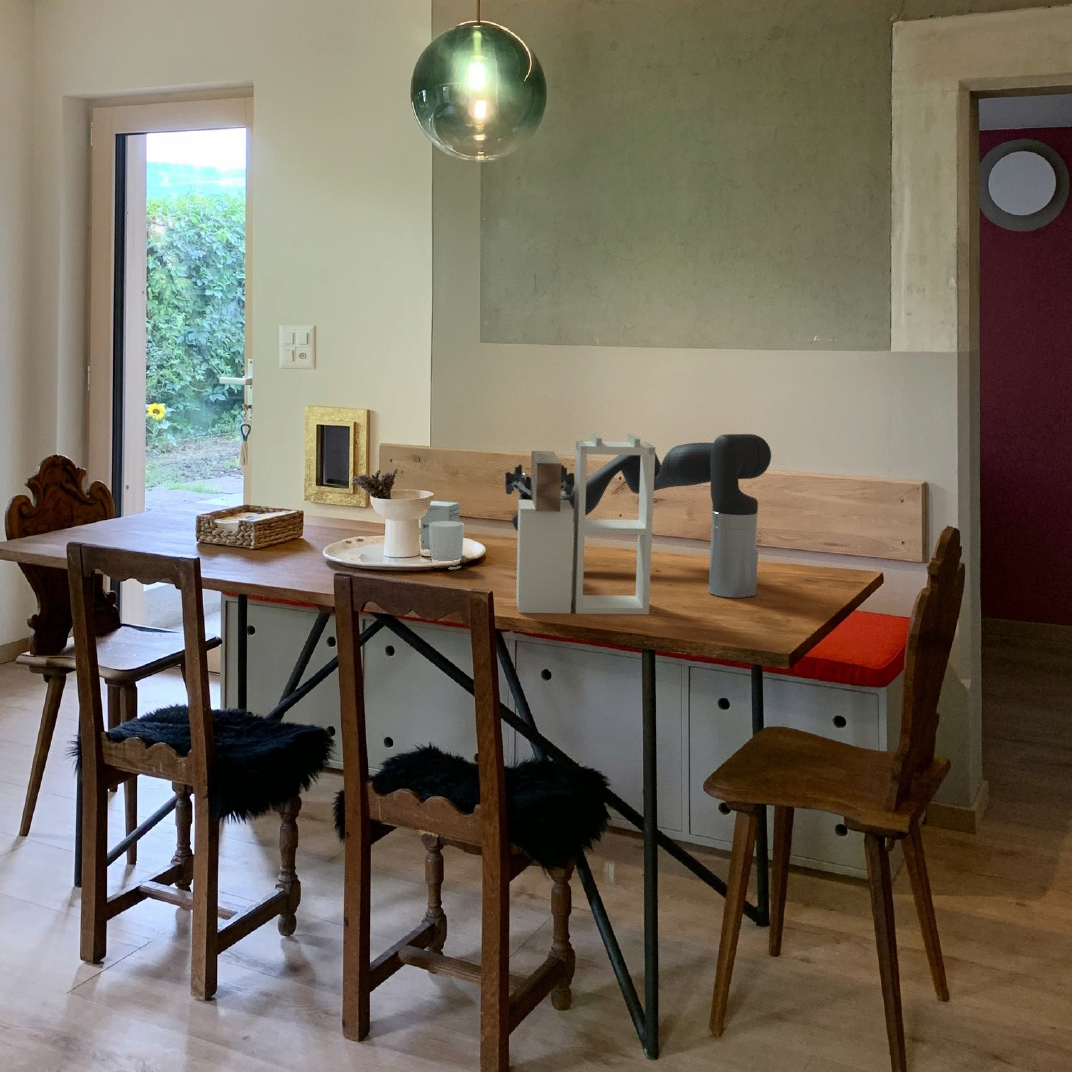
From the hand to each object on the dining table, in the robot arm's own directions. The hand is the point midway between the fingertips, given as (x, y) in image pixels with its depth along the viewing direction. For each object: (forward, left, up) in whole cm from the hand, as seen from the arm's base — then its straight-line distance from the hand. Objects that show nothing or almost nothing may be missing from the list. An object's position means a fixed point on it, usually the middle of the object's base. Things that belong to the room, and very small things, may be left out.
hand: (541, 469), depth 242 cm
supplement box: (+22, -42, -26) cm, 54 cm away
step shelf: (-8, +12, -26) cm, 29 cm away
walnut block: (0, +9, -6) cm, 11 cm away
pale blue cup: (+20, -27, -26) cm, 42 cm away
